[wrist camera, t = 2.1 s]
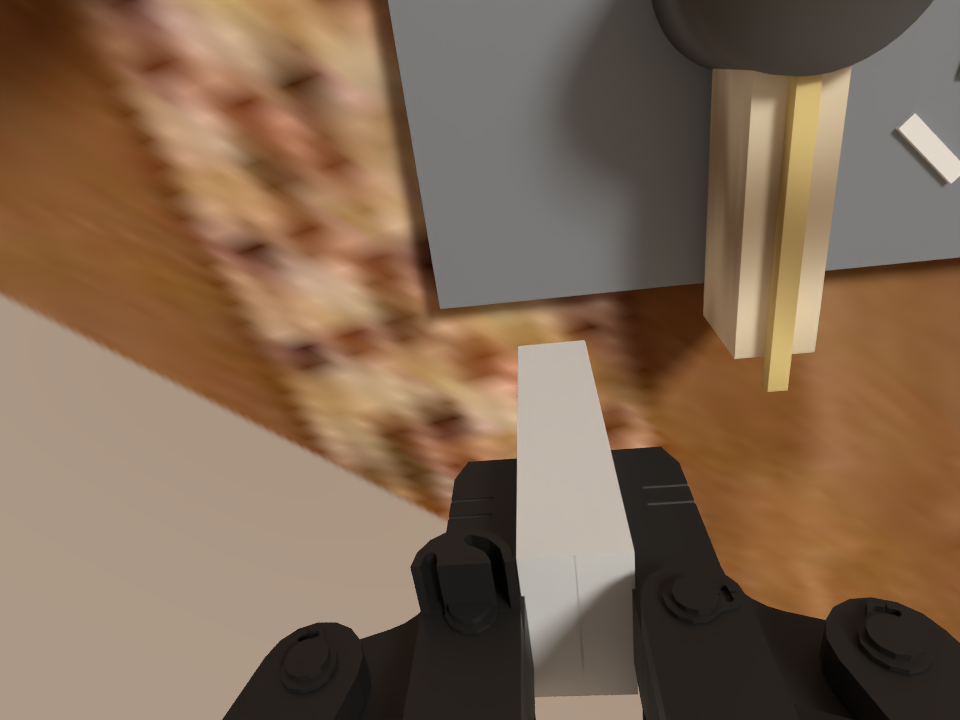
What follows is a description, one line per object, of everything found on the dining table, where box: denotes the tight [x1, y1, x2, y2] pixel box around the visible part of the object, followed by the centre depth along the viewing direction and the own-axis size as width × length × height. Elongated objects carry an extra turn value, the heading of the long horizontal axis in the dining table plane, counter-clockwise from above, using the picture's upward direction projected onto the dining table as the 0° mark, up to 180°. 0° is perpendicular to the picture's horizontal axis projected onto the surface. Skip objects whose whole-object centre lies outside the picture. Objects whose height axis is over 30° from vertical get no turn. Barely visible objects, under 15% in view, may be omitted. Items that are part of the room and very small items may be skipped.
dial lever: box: [652, 0, 934, 392], centre depth 17 cm, size 15×6×5 cm, turn 7°
